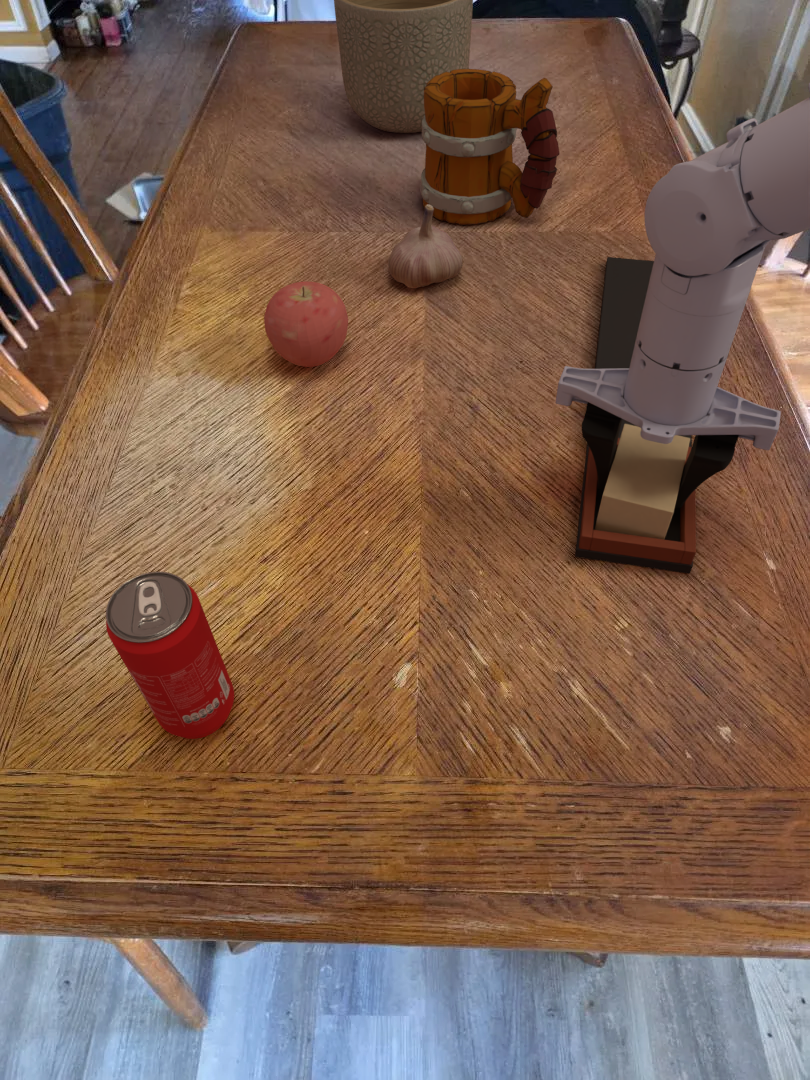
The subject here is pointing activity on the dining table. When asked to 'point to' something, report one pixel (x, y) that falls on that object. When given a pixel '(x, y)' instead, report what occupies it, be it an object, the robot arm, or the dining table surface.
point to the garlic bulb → (425, 255)
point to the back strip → (613, 352)
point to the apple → (306, 323)
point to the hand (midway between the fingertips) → (640, 489)
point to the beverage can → (171, 653)
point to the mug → (485, 146)
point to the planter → (399, 55)
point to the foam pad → (642, 485)
